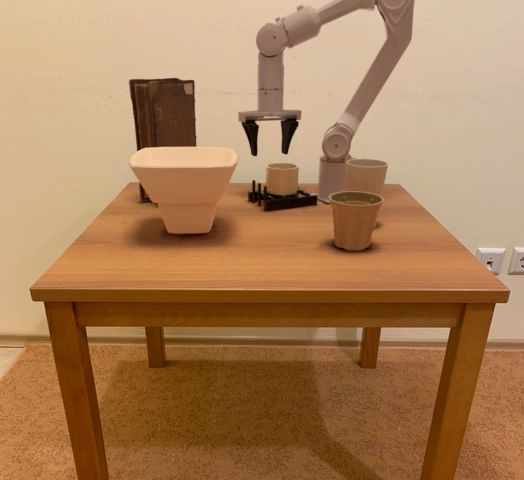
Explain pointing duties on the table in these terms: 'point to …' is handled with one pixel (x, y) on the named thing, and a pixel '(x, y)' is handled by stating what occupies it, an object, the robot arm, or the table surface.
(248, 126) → the robot arm
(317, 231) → the table surface
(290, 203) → the rack
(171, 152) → the bowl
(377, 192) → the cup
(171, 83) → the book
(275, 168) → the beige mug
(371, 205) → the flower pot
